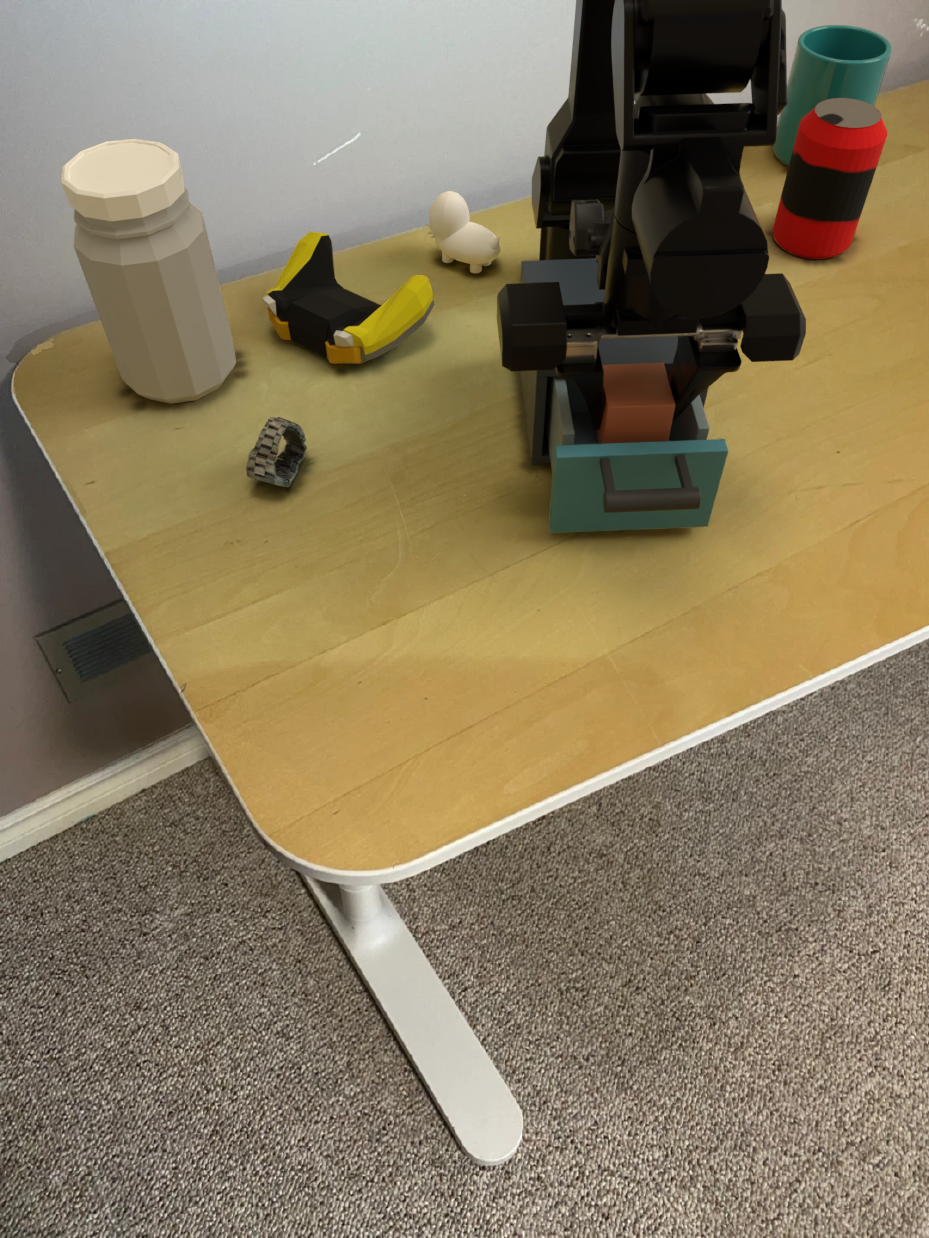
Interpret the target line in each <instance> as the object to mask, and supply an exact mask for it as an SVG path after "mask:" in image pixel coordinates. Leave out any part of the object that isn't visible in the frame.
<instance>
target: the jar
mask: <svg viewBox="0 0 929 1238" xmlns="http://www.w3.org/2000/svg"><path fill="white" fill-rule="evenodd" d="M180 160H181V159H180V156H179V153H178V152H177V151H176V150H173V149H172V148H170V146H168V145H166V144H164V143H163V142H159V141H153V140H146V139H140V138H128V139H118V140H109V141H104V142H101V143H99V144H96V145H93V146H90V147H87V148H85V149H82V150H80V151H79V152H78V153H76V154H75V155H74V156H73V157H72V158H71V159H70V160H68V161H67V162H66V163H65V164H64V165H63V166H62V167H61V168H62V169H61V179H60V184H61V186H62V188H63V191H64V195H65V196H66V200H67V202H68V205H69V206H70V207H71V208H72V209H74V211H73V220H74V223H75V227H74V233H73V234H74V235H73V248H74V252H75V254H76V257H77V260H78V263H79V265H80V268H81V270H82V273H83V276H84V278H85V281H86V284H87V287H88V289H89V292H90V296H91V298H92V300H93V304H94V306H95V309H96V312H97V314H98V317H99V320H100V323H101V326H102V329H103V331H104V334H105V336H106V339H107V343H108V345H109V347H110V350H111V353H112V356H113V358H114V361H115V364H116V366H117V370H118V372H119V375H120V378H121V380H122V381H123V382H124V383H125V384H126V385H128V386H129V388H130V389H132V391H134V392H135V393H136V394H137V395H139V396H141V397H143V398H146V399H148V400H151V401H156V402H160V403H166V404H170V405H171V404H172V405H173V404H178V403H184V402H185V403H186V402H193V401H198V400H200V399H201V398H203V397H205V396H207V395H209V394H211V393H213V392H215V391H217V390H218V389H219V388H220V387H221V386H222V384H223V383H224V381H225V380H226V379H227V378H228V376H229V375H230V373H231V372H232V371H233V369H234V368H235V366H236V365H237V359H236V349H235V343H234V339H233V335H232V330H231V327H230V323H229V318H228V314H227V310H226V306H225V302H224V297H223V294H222V290H221V285H220V282H219V281H220V280H219V277H218V273H217V268H216V264H215V261H214V256H213V252H212V248H211V243H210V240H209V239H210V238H209V235H208V232H207V227H206V224H205V220H204V219H205V218H204V215H203V212H202V211H201V210H200V209H198V207H196V206H195V205H194V204H193V203H191V202H190V199H189V191H188V189H187V188H185V177H184V172H183V169H182V165H181V161H180Z"/></svg>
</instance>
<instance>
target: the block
mask: <svg viewBox="0 0 929 1238" xmlns="http://www.w3.org/2000/svg"><path fill="white" fill-rule="evenodd" d="M602 366H603V370H604V384H603V418H602V422H601V425H600V429H599V430H596V434H597V439H598V444H610V443H635V442H660V441H668V439H669V434H670V429H671V424H672V419H673V414H674V409H675V402H674V398H673V394H672V391H671V387H670V384H669V380H668V376H667V373H666V369H665V366H664V363H640V364H614V365H602Z"/></svg>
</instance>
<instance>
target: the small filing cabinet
mask: <svg viewBox="0 0 929 1238" xmlns="http://www.w3.org/2000/svg"><path fill="white" fill-rule="evenodd" d="M597 269H598V263H597V262H596V258H591V259H564V260H539V259H538V260H537V259H536V260H521V262H520V282H519V283H538V282H559V285H560V290H561V296H562V301H563V305H582V304H594V303H595V302H604V293H605V290H599V288H598V284H597V280H596V278H597ZM677 344H678V336H673V337H647V338H621V339H602V340H600V341H599V344H598V347H599V352H600V356H601V361H602V365H614V364H640V363H664V366H665V369H666V372H670V371H671V368H672V364H673V360H674V357H675V353H676V350H677ZM552 376H558V375H557V374H556V369H555V368H554V369H553V370H537V371H519V377H520V382H521V383H520V385H521V392H522V400H523V409H524V416H525V424H526V432H527V440H528V448H529V456H530V463H531V464H532V465H540V464H542V465H543V464H551V462H550V455H549V448H548V441H547V434H546V428H545V421H544V420H545V406H546V391H547V377H552ZM709 387H710V386H709ZM709 387H708V388H707V389H706V390H704V391H703V392H702V393H701V394H700V398H701V401H702V405H703V408H704V409H705V405H706V400H707V395H708V392H709Z"/></svg>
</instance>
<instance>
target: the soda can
mask: <svg viewBox="0 0 929 1238" xmlns="http://www.w3.org/2000/svg"><path fill="white" fill-rule="evenodd" d="M887 138H888V130H887V128H886V124H885V123H884V120H883V118H882V112H881V111H880V110H879V109H878V108H877V107H876V106H873V105H871V104H869V103H866V102H864V101H860V100H856V99H850V98H833V99H827V100H824V101H822V102H820V103H819V104H817V105H816V107H815V108H814V109H813V110H812V111H810V112H809V113H808V114H807V115H806V116H805V117H803V118H802V120H801V121H800V124H799V128H798V132H797V136H796V140H795V144H794V148H793V151H792V155H791V159H790V163H789V166H787V168H788V169H787V171H786V175H785V179H784V182H783V187H782V191H781V193H780V199H779V201H778V206H777V210H776V214H775V217H774V222H773V225H772V231H771V232H772V236H773V239H774V241H775V242H776V244H777V245H778V246H779V247H780V248H781V249H783V250H784V251H786V252H788V253H789V254H791V255H794V256H797V257H801V258H805V259H810V260H823V259H830V258H834V257H837V256H840V255H841V254H842V253H844V252H845V251H847V250H848V249H849V248H850V247H851V245H852V242H853V240H854V237H855V234H856V232H857V228H858V225H859V222H860V219H861V216H862V213H863V210H864V207H865V203H866V201H867V198H868V195H869V193H870V192H869V191H870V189H871V186H872V182H873V180H874V177H875V174H876V171H877V169H878V168H877V167H878V165H879V162H880V158H881V156H882V154H883V153H882V152H883V149H884V146H885V145H886V141H887Z"/></svg>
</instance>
